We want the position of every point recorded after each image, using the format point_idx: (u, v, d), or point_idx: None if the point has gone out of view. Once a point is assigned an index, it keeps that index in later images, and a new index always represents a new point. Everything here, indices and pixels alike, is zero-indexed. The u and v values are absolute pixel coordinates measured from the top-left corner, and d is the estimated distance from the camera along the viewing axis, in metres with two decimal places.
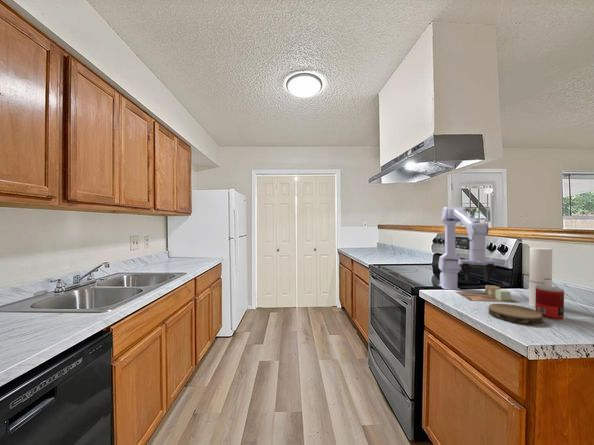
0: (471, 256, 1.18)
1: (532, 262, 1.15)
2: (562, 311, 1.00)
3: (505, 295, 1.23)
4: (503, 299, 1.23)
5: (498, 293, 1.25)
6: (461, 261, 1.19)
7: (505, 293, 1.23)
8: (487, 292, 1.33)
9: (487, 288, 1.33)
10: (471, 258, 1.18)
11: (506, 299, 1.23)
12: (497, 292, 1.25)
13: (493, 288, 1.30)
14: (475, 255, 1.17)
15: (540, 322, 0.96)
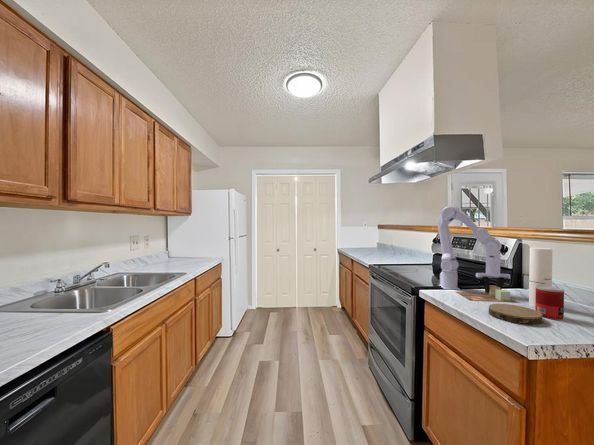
0: (487, 270, 1.32)
1: (532, 262, 1.15)
2: (562, 311, 1.00)
3: (505, 295, 1.23)
4: (503, 299, 1.23)
5: (498, 293, 1.25)
6: (478, 274, 1.32)
7: (505, 293, 1.23)
8: None
9: None
10: (487, 272, 1.32)
11: (506, 299, 1.23)
12: (497, 292, 1.25)
13: (493, 288, 1.30)
14: (491, 269, 1.30)
15: (540, 322, 0.96)
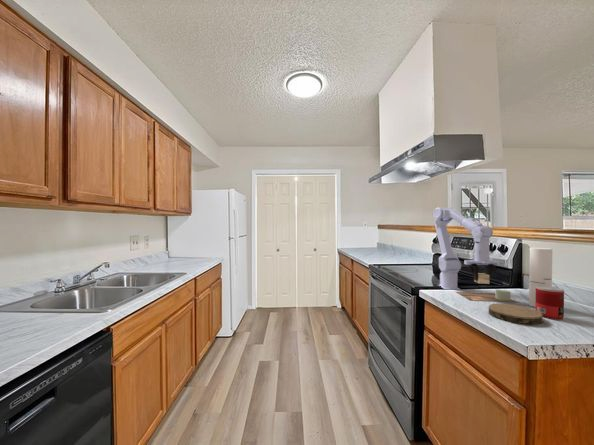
0: (476, 257, 1.27)
1: (532, 262, 1.15)
2: (562, 311, 1.00)
3: (505, 295, 1.23)
4: (503, 299, 1.23)
5: (498, 293, 1.25)
6: (467, 262, 1.27)
7: (505, 293, 1.23)
8: None
9: None
10: (476, 259, 1.27)
11: (506, 299, 1.23)
12: (497, 292, 1.25)
13: (482, 276, 1.25)
14: (480, 256, 1.26)
15: (540, 322, 0.96)
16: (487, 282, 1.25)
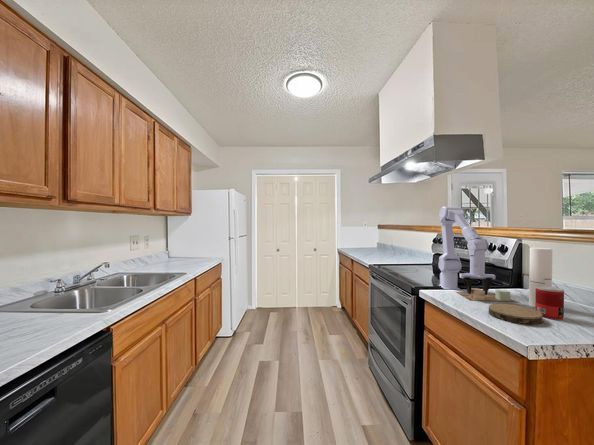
0: (471, 270, 1.26)
1: (532, 262, 1.15)
2: (562, 311, 1.00)
3: (505, 295, 1.23)
4: (503, 299, 1.23)
5: (498, 293, 1.25)
6: (462, 275, 1.26)
7: (505, 293, 1.23)
8: (471, 296, 1.27)
9: (471, 291, 1.27)
10: (471, 272, 1.26)
11: (506, 299, 1.23)
12: (497, 292, 1.25)
13: (477, 291, 1.24)
14: (475, 269, 1.24)
15: (540, 322, 0.96)
16: (482, 298, 1.24)
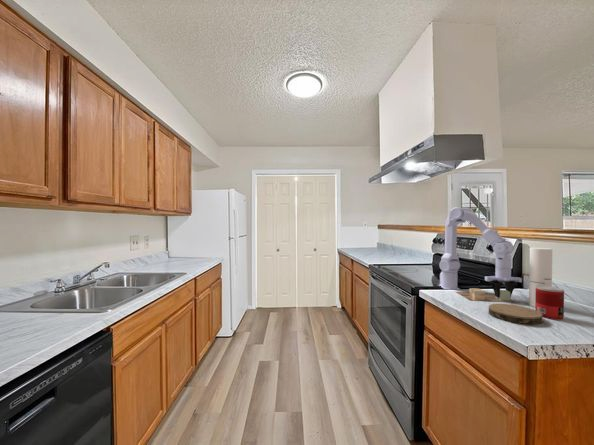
0: (497, 273, 1.24)
1: (532, 262, 1.15)
2: (562, 311, 1.00)
3: (505, 295, 1.23)
4: (503, 299, 1.23)
5: None
6: (488, 278, 1.24)
7: (505, 293, 1.23)
8: (471, 296, 1.27)
9: (471, 291, 1.27)
10: (497, 275, 1.24)
11: (506, 299, 1.23)
12: None
13: (477, 291, 1.24)
14: (502, 272, 1.23)
15: (540, 322, 0.96)
16: (482, 298, 1.24)
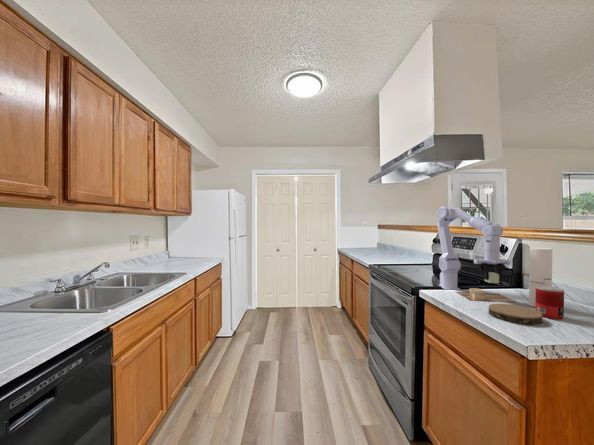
0: (486, 256, 1.25)
1: (532, 262, 1.15)
2: (562, 311, 1.00)
3: (494, 277, 1.23)
4: (492, 281, 1.23)
5: None
6: (477, 261, 1.25)
7: (494, 275, 1.23)
8: (471, 296, 1.27)
9: (471, 291, 1.27)
10: (486, 258, 1.25)
11: (495, 281, 1.23)
12: None
13: (477, 291, 1.24)
14: (490, 255, 1.23)
15: (540, 322, 0.96)
16: (482, 298, 1.24)
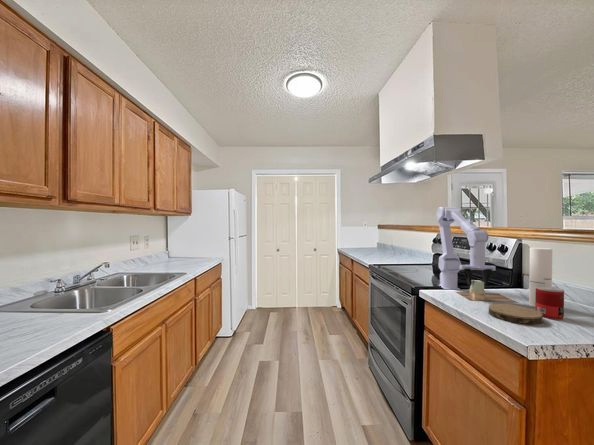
0: (471, 262, 1.26)
1: (532, 262, 1.15)
2: (562, 311, 1.00)
3: (479, 285, 1.24)
4: (477, 289, 1.24)
5: (472, 284, 1.26)
6: (462, 266, 1.26)
7: (479, 283, 1.24)
8: (471, 296, 1.27)
9: (471, 291, 1.27)
10: (471, 264, 1.26)
11: (480, 289, 1.24)
12: (472, 282, 1.27)
13: (477, 291, 1.24)
14: (476, 261, 1.24)
15: (540, 322, 0.96)
16: (482, 298, 1.24)
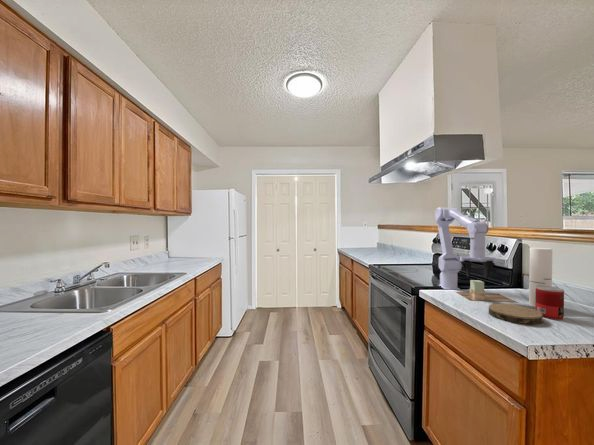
0: (472, 253, 1.26)
1: (532, 262, 1.15)
2: (562, 311, 1.00)
3: (479, 285, 1.24)
4: (477, 289, 1.24)
5: (472, 284, 1.26)
6: (462, 258, 1.26)
7: (479, 283, 1.24)
8: (471, 296, 1.27)
9: (471, 291, 1.27)
10: (472, 255, 1.26)
11: (480, 289, 1.24)
12: (472, 282, 1.27)
13: (477, 291, 1.24)
14: (476, 252, 1.24)
15: (540, 322, 0.96)
16: (482, 298, 1.24)
